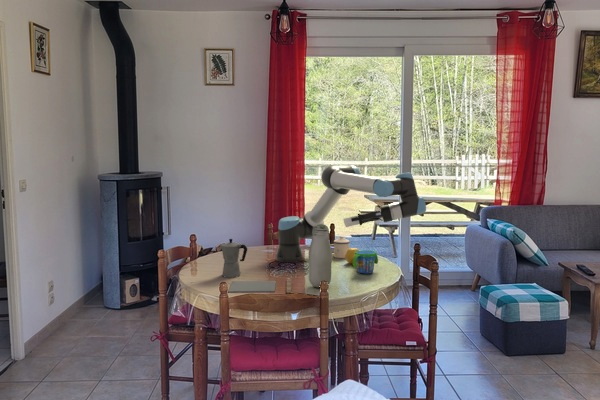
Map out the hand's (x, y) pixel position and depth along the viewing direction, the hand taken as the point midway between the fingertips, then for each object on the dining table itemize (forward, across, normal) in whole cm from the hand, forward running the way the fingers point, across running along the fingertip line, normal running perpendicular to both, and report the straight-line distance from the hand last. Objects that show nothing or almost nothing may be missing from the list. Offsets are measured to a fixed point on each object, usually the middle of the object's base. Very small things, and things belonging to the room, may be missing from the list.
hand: (344, 223), depth 222 cm
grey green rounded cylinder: (+17, -2, -26) cm, 31 cm away
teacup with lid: (+8, +57, -13) cm, 59 cm away
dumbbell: (-1, +36, -21) cm, 41 cm away
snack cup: (-4, +24, -24) cm, 34 cm away
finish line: (+30, -4, -22) cm, 38 cm away
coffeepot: (+58, +13, -12) cm, 61 cm away
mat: (+46, -5, -19) cm, 50 cm away
